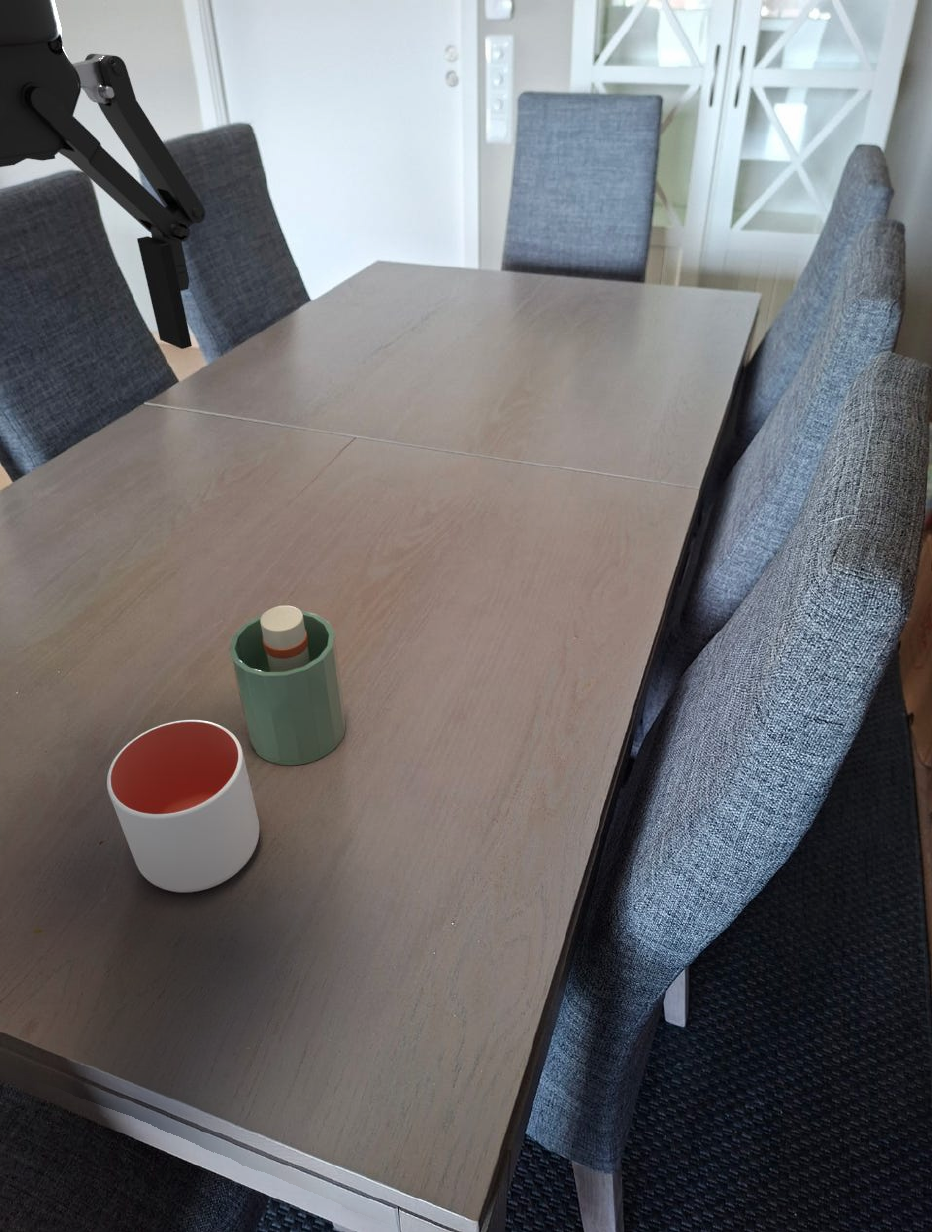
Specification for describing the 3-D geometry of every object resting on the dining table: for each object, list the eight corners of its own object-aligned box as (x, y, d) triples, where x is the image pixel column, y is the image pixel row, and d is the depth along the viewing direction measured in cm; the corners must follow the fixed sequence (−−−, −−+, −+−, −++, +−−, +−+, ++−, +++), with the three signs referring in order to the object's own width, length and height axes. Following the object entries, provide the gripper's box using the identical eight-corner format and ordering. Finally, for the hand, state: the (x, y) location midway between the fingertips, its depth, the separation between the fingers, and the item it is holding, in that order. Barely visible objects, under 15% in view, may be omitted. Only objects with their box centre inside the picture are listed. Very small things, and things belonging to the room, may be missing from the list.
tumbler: (289, 781, 78) (271, 690, 71) (231, 732, 83) (209, 642, 76) (364, 728, 83) (354, 639, 77) (306, 685, 88) (291, 598, 81)
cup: (112, 880, 70) (77, 797, 64) (182, 789, 77) (157, 707, 71) (221, 915, 67) (196, 832, 61) (283, 817, 75) (266, 735, 69)
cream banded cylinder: (305, 745, 81) (286, 636, 73) (271, 732, 82) (249, 624, 74) (328, 719, 83) (312, 611, 75) (295, 707, 85) (276, 600, 77)
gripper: (146, -54, 51) (215, 310, 64) (-380, -50, 37) (-156, 419, 50) (220, -57, 47) (277, 333, 60) (-340, -54, 33) (-107, 459, 46)
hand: (81, 372), depth 55 cm, fingers open, 13 cm apart
